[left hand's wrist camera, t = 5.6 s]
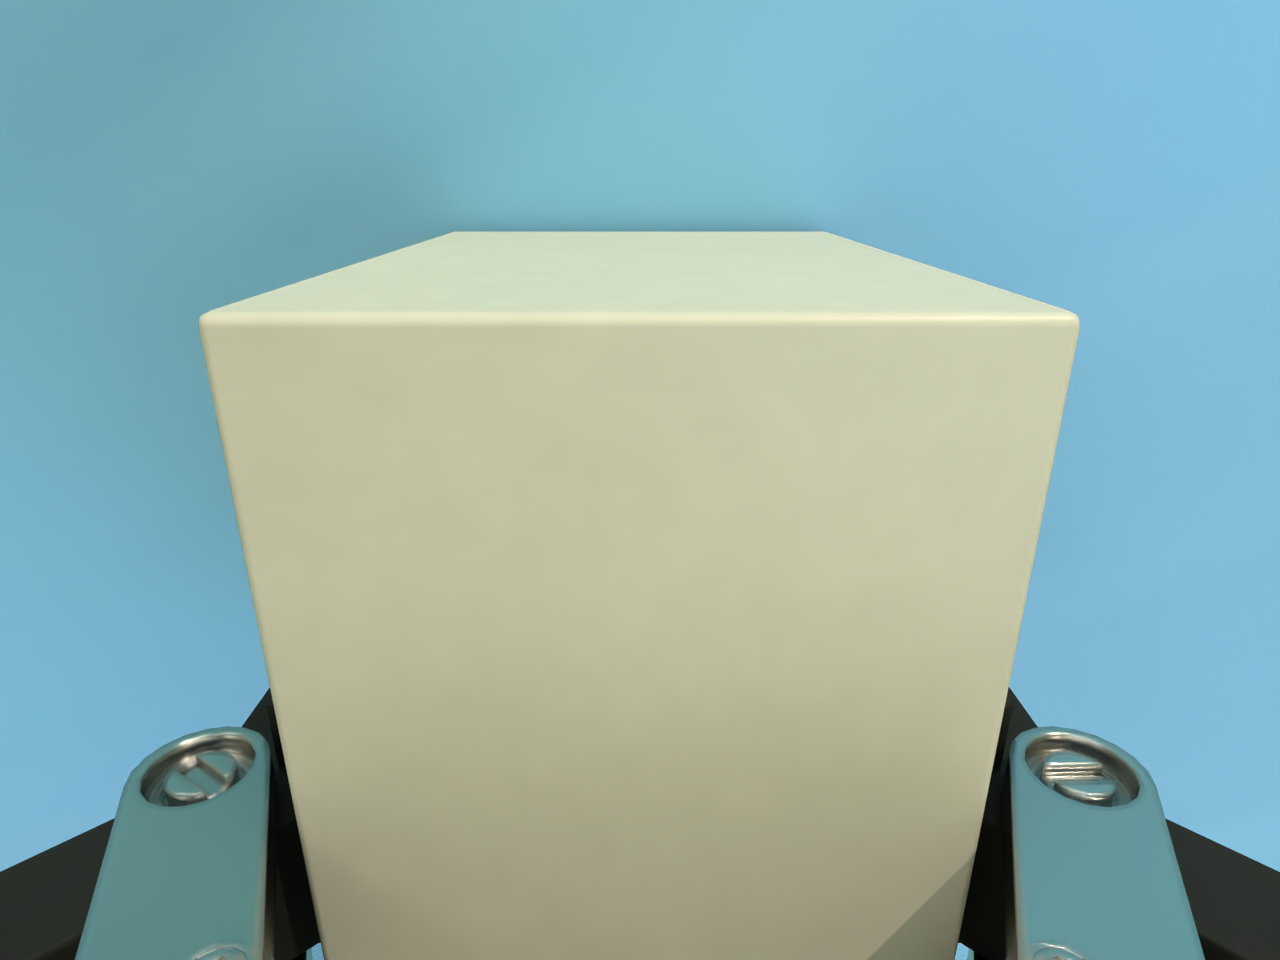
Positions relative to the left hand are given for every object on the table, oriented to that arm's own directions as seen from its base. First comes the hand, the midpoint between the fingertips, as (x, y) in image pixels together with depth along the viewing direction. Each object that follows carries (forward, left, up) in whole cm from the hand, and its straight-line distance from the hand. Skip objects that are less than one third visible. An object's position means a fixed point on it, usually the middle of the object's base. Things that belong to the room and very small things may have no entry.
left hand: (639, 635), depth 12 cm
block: (+16, -18, -3) cm, 24 cm away
